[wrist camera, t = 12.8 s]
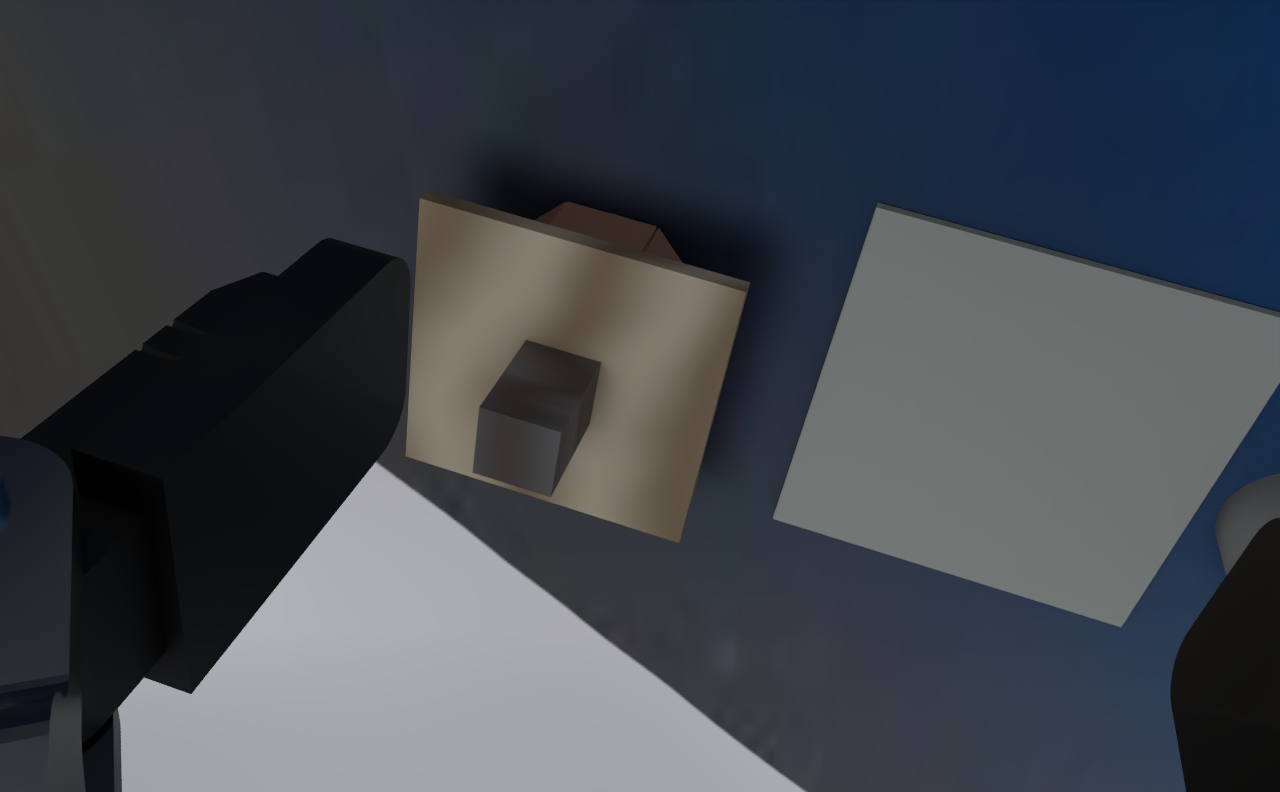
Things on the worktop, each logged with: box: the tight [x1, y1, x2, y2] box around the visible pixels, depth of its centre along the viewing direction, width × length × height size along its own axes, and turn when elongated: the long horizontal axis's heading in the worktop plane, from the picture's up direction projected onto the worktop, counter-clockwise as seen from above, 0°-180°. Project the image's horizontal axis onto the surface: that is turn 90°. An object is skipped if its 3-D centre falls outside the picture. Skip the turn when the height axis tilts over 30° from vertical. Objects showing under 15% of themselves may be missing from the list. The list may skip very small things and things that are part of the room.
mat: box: [773, 202, 1280, 627], centre depth 47 cm, size 17×17×1 cm
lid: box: [406, 190, 750, 543], centre depth 42 cm, size 13×13×6 cm
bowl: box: [534, 202, 683, 263], centre depth 47 cm, size 10×10×6 cm
